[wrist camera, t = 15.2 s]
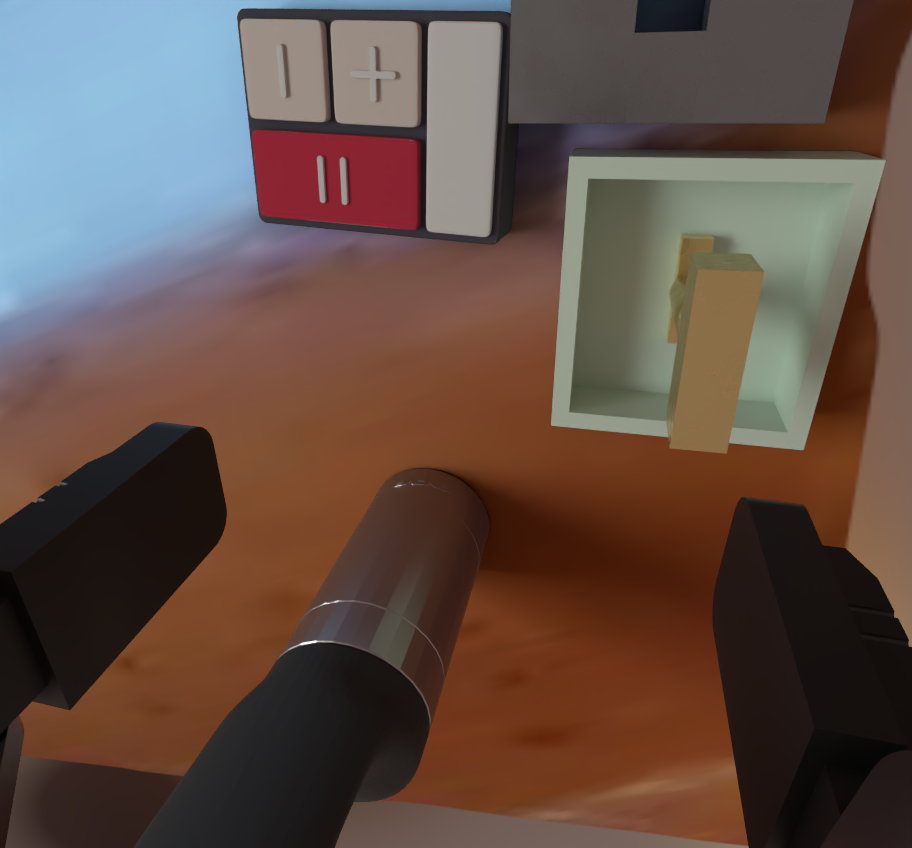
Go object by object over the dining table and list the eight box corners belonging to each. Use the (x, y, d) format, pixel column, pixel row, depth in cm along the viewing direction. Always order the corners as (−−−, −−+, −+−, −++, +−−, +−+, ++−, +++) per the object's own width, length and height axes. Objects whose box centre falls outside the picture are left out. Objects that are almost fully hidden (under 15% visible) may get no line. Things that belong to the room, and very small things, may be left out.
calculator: (226, 6, 33) (510, 9, 29) (269, 14, 36) (527, 18, 33) (251, 224, 38) (495, 249, 35) (287, 213, 42) (511, 233, 38)
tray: (785, 414, 39) (803, 450, 35) (557, 394, 42) (551, 425, 38) (854, 151, 32) (886, 159, 28) (575, 148, 35) (569, 156, 31)
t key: (676, 214, 35) (697, 269, 25) (722, 215, 34) (764, 271, 24) (657, 351, 39) (669, 448, 28) (698, 353, 38) (726, 453, 28)
